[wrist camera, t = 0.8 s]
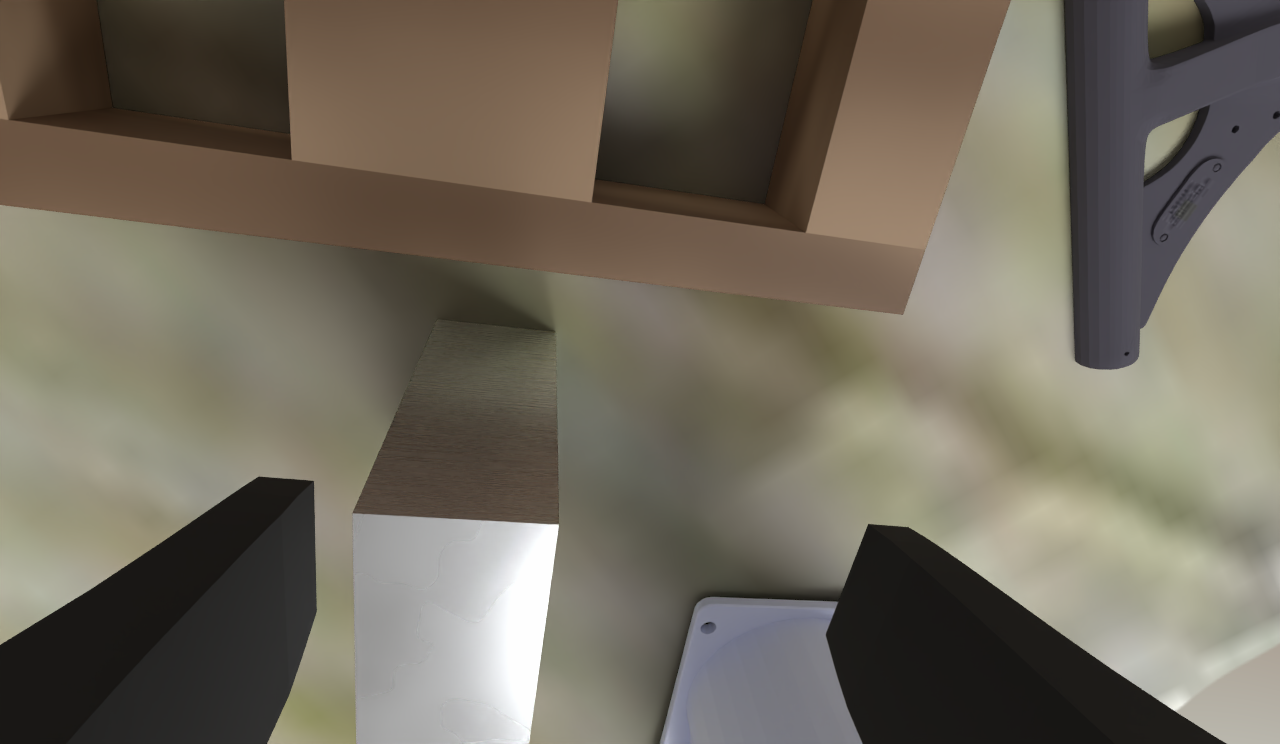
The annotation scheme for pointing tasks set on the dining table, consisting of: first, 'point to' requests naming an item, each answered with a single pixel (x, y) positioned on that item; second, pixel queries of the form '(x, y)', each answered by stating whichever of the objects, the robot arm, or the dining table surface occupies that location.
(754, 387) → the dining table surface
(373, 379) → the dining table surface
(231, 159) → the brown holed block
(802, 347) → the dining table surface
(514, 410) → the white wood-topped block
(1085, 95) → the bracket
